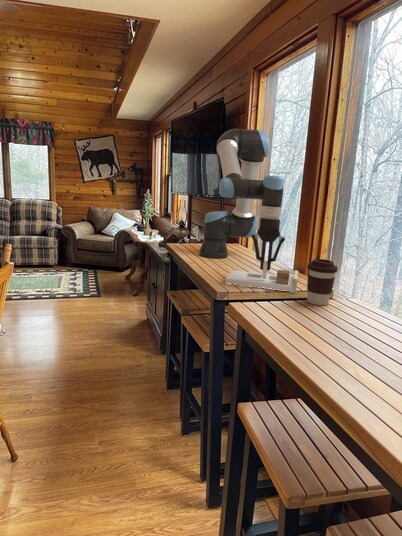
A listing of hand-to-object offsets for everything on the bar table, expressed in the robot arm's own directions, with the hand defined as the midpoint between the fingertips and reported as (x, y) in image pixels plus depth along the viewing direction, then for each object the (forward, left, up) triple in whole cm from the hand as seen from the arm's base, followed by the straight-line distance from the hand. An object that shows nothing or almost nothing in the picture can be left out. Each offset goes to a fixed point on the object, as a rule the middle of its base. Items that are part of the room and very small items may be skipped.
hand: (264, 278), depth 151 cm
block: (0, +7, -1) cm, 7 cm away
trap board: (-4, -2, -4) cm, 5 cm away
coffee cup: (+12, +20, -4) cm, 24 cm away
